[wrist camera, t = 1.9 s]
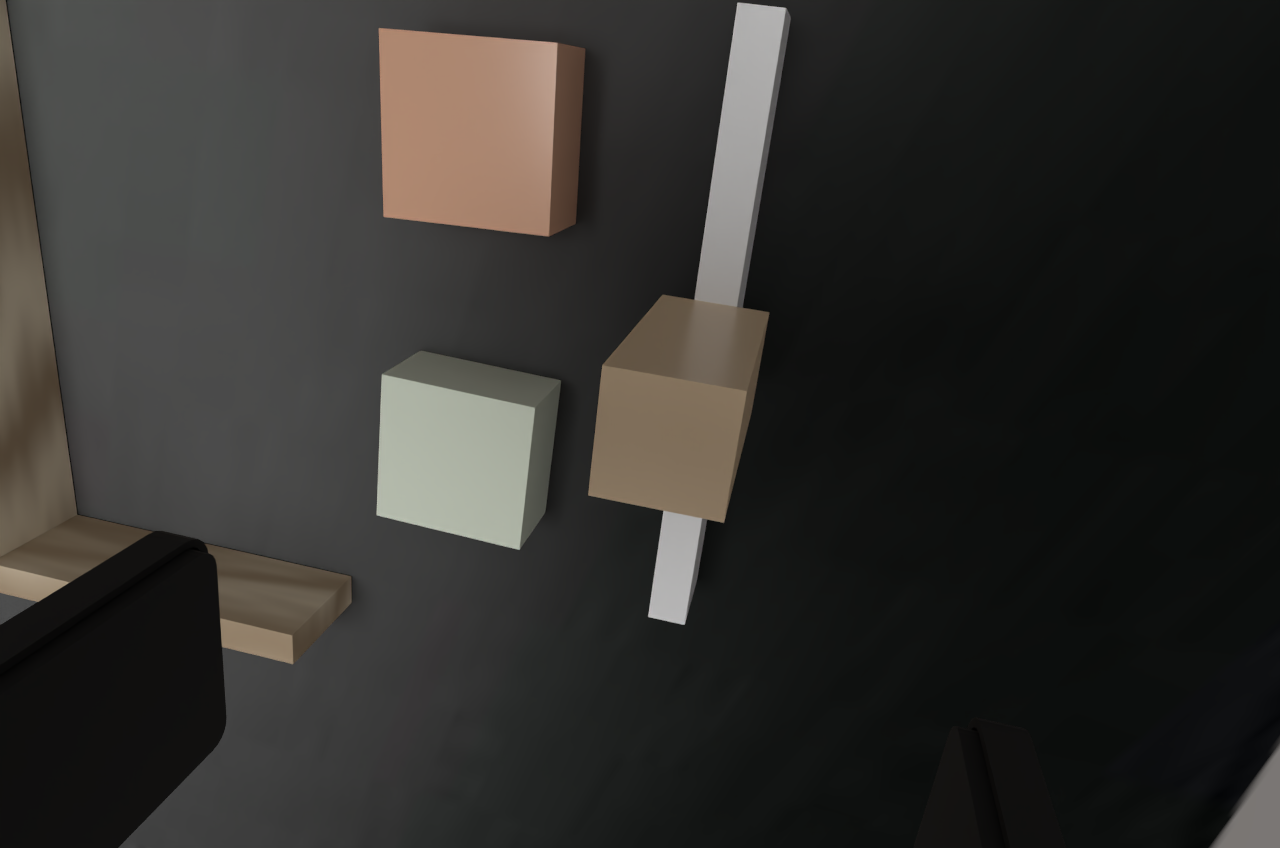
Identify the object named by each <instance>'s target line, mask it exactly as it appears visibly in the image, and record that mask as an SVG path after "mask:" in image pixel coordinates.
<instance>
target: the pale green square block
mask: <svg viewBox="0 0 1280 848" xmlns="http://www.w3.org/2000/svg"><path fill="white" fill-rule="evenodd" d="M560 387H561V380H557V379H552V378H547V377H543V376H538V375H533V374H529V373H524V372H519V371H515V370H510V369H505V368H500V367H496V366H491V365H486V364H482V363H477V362H472V361H468V360H463V359H458V358H454V357H449V356H444V355H439V354H435V353H430V352H425V351H419V352H417V353H416V354H414V355H412V356H411V357H409V358H408V359H406V360H404V361H403V362H401V363H399V364H398V365H396V366H395V367H393V368H391V369H390V370H388V371H386V372H385V373H383V374H382V384H381V411H380V438H379V464H378V491H377V515H378V516H382V517H386V518H390V519H394V520H398V521H403V522H407V523H411V524H415V525H419V526H423V527H427V528H431V529H436V530H440V531H444V532H448V533H452V534H456V535H460V536H464V537H468V538H473V539H477V540H481V541H485V542H489V543H493V544H497V545H501V546H506V547H510V548H514V549H518V550H520V548H521V547H522V545H523V544H524V543H525V541H526V540H527V538H528V537H529V535H530V534H531V532H532V531H533V530H534V528H535V527H536V525H537V524H538V522H539V521H540V519H541V518H542V517H543V515H544V514H545V511H546V503H547V494H548V486H549V478H550V470H551V461H552V453H553V445H554V437H555V428H556V420H557V412H558V404H559V395H560Z"/></svg>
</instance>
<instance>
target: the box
mask: <svg viewBox="0 0 1280 848" xmlns="http://www.w3.org/2000/svg"><path fill="white" fill-rule="evenodd" d="M150 533H152V531H148V530H143V529H139V528H134V527H130V526H126V525H121V524H117V523H112V522H108V521H103V520H99V519H95V518H90V517H86V516H81V515H77V509H76V501H75V494H74V487H73V480H72V473H71V466H70V458H69V451H68V444H67V437H66V430H65V422H64V415H63V408H62V401H61V394H60V387H59V379H58V372H57V365H56V358H55V351H54V343H53V336H52V329H51V322H50V315H49V308H48V300H47V293H46V286H45V279H44V272H43V264H42V257H41V250H40V243H39V236H38V229H37V221H36V214H35V207H34V200H33V193H32V185H31V178H30V171H29V164H28V157H27V150H26V142H25V135H24V128H23V121H22V114H21V106H20V99H19V92H18V85H17V78H16V71H15V63H14V56H13V49H12V42H11V35H10V27H9V20H8V13H7V6H6V0H0V593H4V594H8V595H12V596H16V597H20V598H24V599H28V600H32V601H37V602H39V601H40V600H42V599H44V598H45V597H47V596H49V595H50V594H52V593H53V592H55V591H57V590H58V589H60V588H62V587H63V586H65V585H66V584H68V583H70V582H71V581H73V580H75V579H76V578H78V577H79V576H81V575H83V574H84V573H86V572H88V571H89V570H91V569H92V568H94V567H96V566H97V565H99V564H101V563H102V562H104V561H106V560H107V559H109V558H110V557H112V556H114V555H115V554H117V553H119V552H120V551H122V550H123V549H125V548H127V547H128V546H130V545H132V544H133V543H135V542H136V541H138V540H140V539H141V538H143V537H145V536H146V535H148V534H150ZM205 545H206V547H207V548H208V553H209V554H211V555H213V556H214V558H215V560H216V564H217V575H218V591H219V607H220V624H221V640H222V647H225V648H229V649H233V650H238V651H242V652H246V653H250V654H254V655H258V656H262V657H266V658H270V659H274V660H279V661H283V662H287V663H291V664H294V663H295V662H296V661H297V660H298V659H299V658H300V657H301V655H302V654H303V653H304V652H305V651H306V650H307V649H308V648H309V647H310V646H311V645H312V644H313V643H314V642H315V641H316V640H317V639H318V638H319V637H320V635H321V634H322V633H323V632H324V631H325V630H326V629H327V628H328V627H329V626H330V625H331V624H332V623H333V622H334V621H335V620H336V619H337V618H338V617H339V615H340V614H341V613H342V612H343V611H344V610H345V609H346V608H347V607H348V606H349V605H350V604H351V603H352V592H351V576H347V575H343V574H338V573H334V572H330V571H325V570H321V569H316V568H312V567H307V566H303V565H299V564H294V563H290V562H285V561H281V560H276V559H272V558H268V557H263V556H259V555H254V554H250V553H245V552H241V551H236V550H232V549H228V548H223V547H219V546H214V545H210V544H205Z"/></svg>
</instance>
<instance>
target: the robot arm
mask: <svg viewBox="0 0 1280 848" xmlns="http://www.w3.org/2000/svg"><path fill="white" fill-rule="evenodd" d="M225 726H226V704H225V688H224V672H223V656H222V640H221V624H220V607H219V591H218V575H217V564H216V560H215V558H214V556H213V555H211V554H209V553H208V548H207V547H206V545H205V543H204V542H202V541H200V540H199V539H194V538H190V537H186V536H181V535H177V534H173V533H168V532H164V531H155V532H152V533H150V534H148V535H146V536H145V537H143V538H141V539H140V540H138V541H136V542H135V543H133V544H132V545H130V546H128V547H127V548H125V549H123V550H122V551H120V552H119V553H117V554H115V555H114V556H112V557H110V558H109V559H107V560H106V561H104V562H102V563H101V564H99V565H97V566H96V567H94V568H92V569H91V570H89V571H88V572H86V573H84V574H83V575H81V576H79V577H78V578H76V579H75V580H73V581H71V582H70V583H68V584H66V585H65V586H63V587H62V588H60V589H58V590H57V591H55V592H53V593H52V594H50V595H49V596H47V597H45V598H44V599H42V600H40V601H39V602H37V603H35V604H34V605H32V606H31V607H29V608H27V609H26V610H24V611H22V612H21V613H19V614H18V615H16V616H14V617H13V618H11V619H9V620H8V621H6V622H5V623H3V624H1V625H0V848H118V847H119V846H120V845H121V844H122V843H123V842H124V841H125V840H126V839H127V838H128V837H129V836H130V835H131V834H132V833H133V832H134V831H135V830H136V829H137V828H138V827H139V826H140V825H141V824H142V823H143V822H144V821H145V820H146V819H147V817H148V816H149V815H150V814H151V813H152V812H153V811H154V810H155V809H156V808H157V807H158V806H159V805H160V804H161V803H162V802H163V801H164V800H165V799H166V798H167V797H168V796H169V795H170V794H171V793H172V792H173V791H174V790H175V789H176V788H177V787H178V786H179V785H180V784H181V783H182V782H183V781H184V780H185V778H186V777H187V776H188V775H189V774H190V773H191V772H192V771H193V770H194V769H195V768H196V767H197V766H198V765H199V764H200V763H201V762H202V761H203V760H204V759H205V758H206V757H207V756H208V755H209V754H210V753H211V752H212V751H213V750H214V748H215V747H216V746H217V745H218V743H219V741H220V739H221V738H222V735H223V733H224V730H225ZM914 848H1066V846H1065V843H1064V840H1063V837H1062V834H1061V830H1060V827H1059V824H1058V821H1057V818H1056V815H1055V811H1054V808H1053V805H1052V802H1051V799H1050V796H1049V793H1048V789H1047V786H1046V783H1045V780H1044V777H1043V774H1042V770H1041V767H1040V764H1039V761H1038V758H1037V755H1036V752H1035V748H1034V745H1033V742H1032V739H1031V736H1030V734H1029V732H1028V731H1027V730H1026V729H1024V728H1020V727H1016V726H1011V725H1007V724H1003V723H998V722H994V721H989V720H985V719H981V718H973V719H972V720H971V722H970V723H969V725H968V728H967V729H966V728H962V727H957V726H954V727H952V729H951V730H950V733H949V736H948V739H947V742H946V745H945V748H944V751H943V755H942V758H941V761H940V764H939V767H938V771H937V774H936V777H935V780H934V784H933V787H932V790H931V793H930V796H929V800H928V803H927V806H926V809H925V812H924V816H923V819H922V822H921V825H920V828H919V832H918V835H917V838H916V841H915V845H914Z"/></svg>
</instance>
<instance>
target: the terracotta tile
mask: <svg viewBox="0 0 1280 848" xmlns="http://www.w3.org/2000/svg"><path fill="white" fill-rule="evenodd" d="M379 53H380V93H381V132H382V172H383V211H384V217H389V218H398V219H406V220H415V221H423V222H431V223H440V224H448V225H456V226H465V227H473V228H481V229H490V230H498V231H506V232H515V233H523V234H532V235H540V236H548V237H549V236H551V235H553V234H555V233H557V232H560V231H562V230H564V229H566V228H568V227H570V226H572V225H574V224H576V213H577V194H578V176H579V157H580V139H581V120H582V102H583V83H584V65H585V48H580V47H575V46H570V45H566V44H561V43H554V42H542V41H530V40H517V39H505V38H493V37H481V36H469V35H456V34H444V33H432V32H420V31H408V30H396V29H383V28H379Z"/></svg>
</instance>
